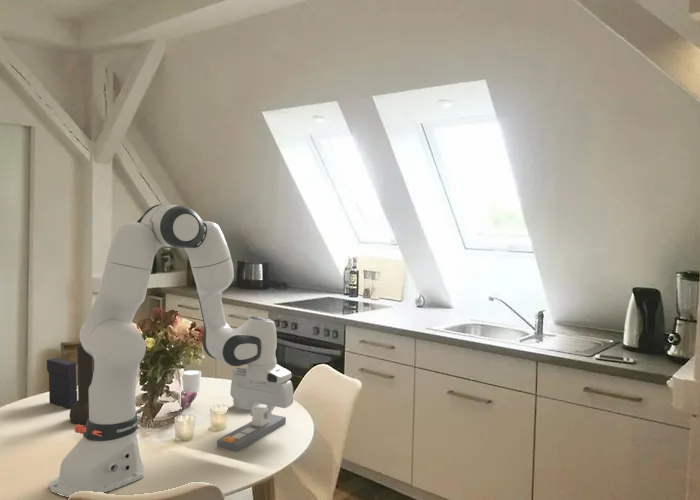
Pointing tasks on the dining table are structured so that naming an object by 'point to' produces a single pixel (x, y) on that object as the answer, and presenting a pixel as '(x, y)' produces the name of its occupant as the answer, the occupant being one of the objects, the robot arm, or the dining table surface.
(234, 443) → the power strip
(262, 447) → the dining table surface
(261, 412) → the charger
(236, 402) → the ramekin
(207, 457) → the dining table surface
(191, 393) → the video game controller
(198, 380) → the white cup
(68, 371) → the dark blue lidded box
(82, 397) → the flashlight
